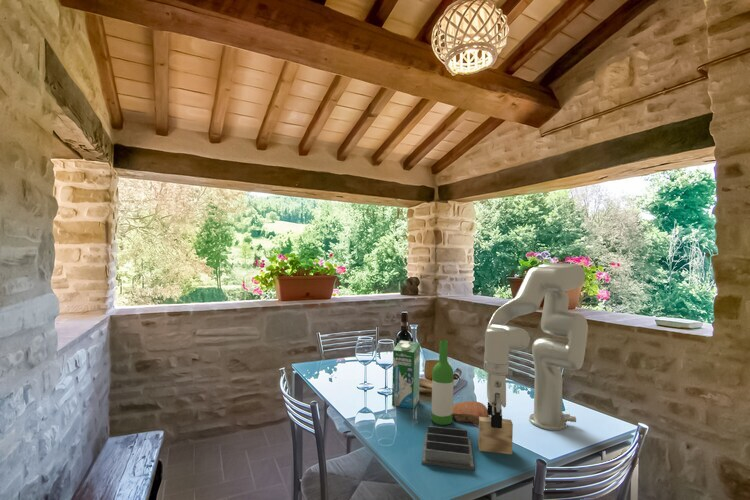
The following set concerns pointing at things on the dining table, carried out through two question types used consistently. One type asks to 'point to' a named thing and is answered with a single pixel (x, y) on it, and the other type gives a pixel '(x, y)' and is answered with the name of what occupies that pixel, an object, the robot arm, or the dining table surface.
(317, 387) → the dining table surface
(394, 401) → the milk carton
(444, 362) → the wine bottle
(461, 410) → the ceramic shard
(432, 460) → the rack
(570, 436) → the dining table surface
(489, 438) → the oak board
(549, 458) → the dining table surface
